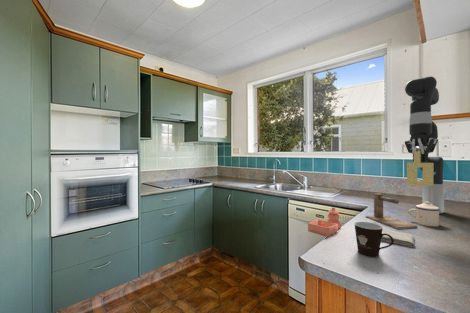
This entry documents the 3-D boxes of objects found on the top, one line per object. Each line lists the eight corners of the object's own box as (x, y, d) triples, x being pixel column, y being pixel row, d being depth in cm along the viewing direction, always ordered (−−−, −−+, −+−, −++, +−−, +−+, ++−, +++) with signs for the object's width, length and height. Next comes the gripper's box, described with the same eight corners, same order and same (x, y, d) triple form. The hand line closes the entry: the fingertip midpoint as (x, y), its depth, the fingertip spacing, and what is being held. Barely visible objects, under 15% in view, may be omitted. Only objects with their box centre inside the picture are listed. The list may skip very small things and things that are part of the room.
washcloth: (365, 231, 103) (365, 224, 103) (414, 240, 92) (414, 232, 92) (360, 238, 94) (360, 231, 94) (414, 249, 83) (414, 241, 83)
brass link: (426, 185, 99) (426, 151, 99) (433, 185, 96) (433, 151, 96) (406, 185, 97) (406, 151, 97) (413, 185, 94) (413, 151, 95)
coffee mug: (349, 248, 82) (349, 222, 82) (371, 247, 83) (371, 221, 83) (371, 263, 71) (371, 232, 71) (396, 262, 72) (396, 231, 72)
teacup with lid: (438, 224, 111) (438, 201, 111) (441, 229, 104) (441, 204, 104) (408, 220, 119) (408, 198, 119) (408, 224, 111) (408, 201, 111)
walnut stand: (365, 218, 122) (365, 193, 122) (383, 217, 124) (382, 192, 124) (397, 230, 103) (397, 200, 103) (417, 229, 104) (417, 199, 104)
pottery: (327, 238, 94) (327, 215, 94) (308, 232, 101) (307, 210, 101) (346, 229, 105) (346, 208, 105) (327, 224, 112) (327, 205, 112)
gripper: (444, 121, 90) (444, 163, 90) (412, 126, 104) (412, 162, 104) (428, 120, 89) (428, 163, 89) (398, 125, 103) (398, 162, 103)
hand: (420, 162), depth 97 cm, fingers closed on brass link, 3 cm apart
